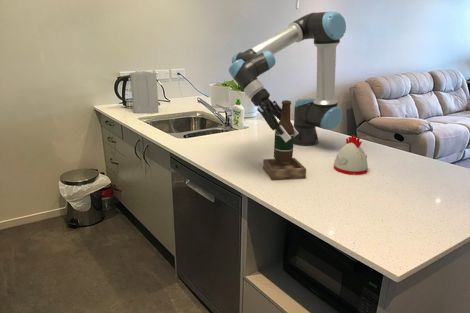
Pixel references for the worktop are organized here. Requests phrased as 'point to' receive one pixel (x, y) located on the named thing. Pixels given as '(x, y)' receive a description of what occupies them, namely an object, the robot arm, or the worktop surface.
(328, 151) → the worktop surface
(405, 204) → the worktop surface
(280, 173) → the square wooden tray
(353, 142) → the kitchen timer
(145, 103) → the paper bag
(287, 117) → the beer bottle
